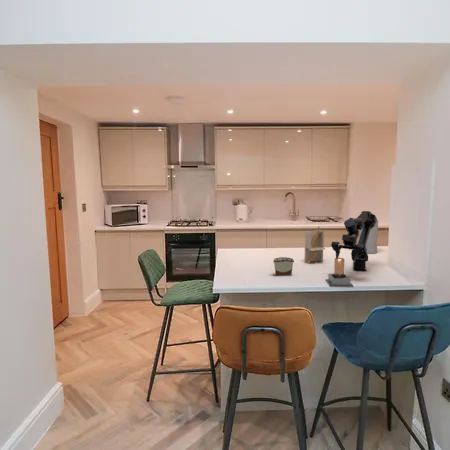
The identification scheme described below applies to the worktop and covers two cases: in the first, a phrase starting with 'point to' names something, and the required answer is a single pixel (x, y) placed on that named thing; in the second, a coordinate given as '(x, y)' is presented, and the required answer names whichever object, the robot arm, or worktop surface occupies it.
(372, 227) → the robot arm
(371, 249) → the grey tall block
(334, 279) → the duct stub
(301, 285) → the worktop surface
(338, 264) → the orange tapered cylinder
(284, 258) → the food container
